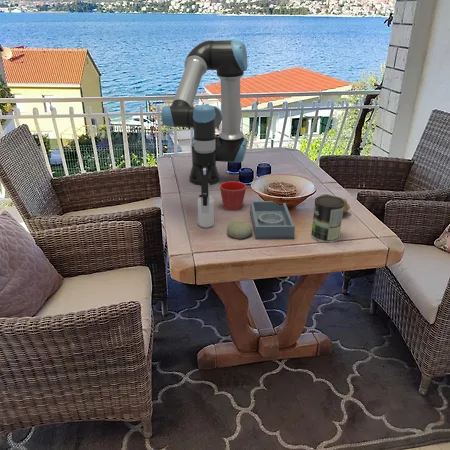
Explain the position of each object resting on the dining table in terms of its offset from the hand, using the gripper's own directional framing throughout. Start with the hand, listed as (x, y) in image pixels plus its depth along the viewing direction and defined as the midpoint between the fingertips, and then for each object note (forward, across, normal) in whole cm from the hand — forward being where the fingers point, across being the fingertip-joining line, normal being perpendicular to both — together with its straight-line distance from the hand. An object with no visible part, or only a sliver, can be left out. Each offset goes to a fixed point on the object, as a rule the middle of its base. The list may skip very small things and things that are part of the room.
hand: (205, 206), depth 153 cm
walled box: (+8, 0, +25) cm, 26 cm away
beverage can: (+8, 0, 0) cm, 9 cm away
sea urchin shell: (+9, +7, +13) cm, 17 cm away
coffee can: (+8, +10, +44) cm, 46 cm away
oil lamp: (+8, -12, +52) cm, 54 cm away
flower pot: (+8, -18, +11) cm, 23 cm away
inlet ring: (+8, 0, +25) cm, 26 cm away
